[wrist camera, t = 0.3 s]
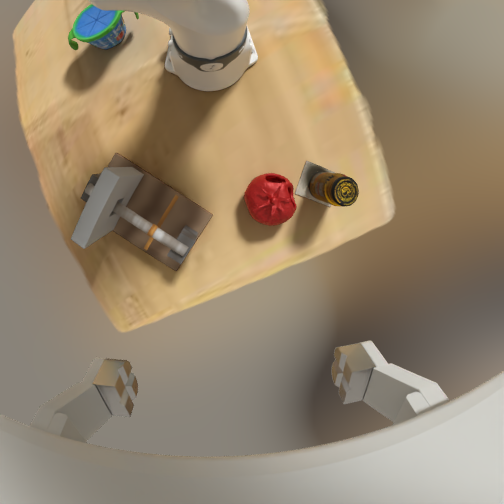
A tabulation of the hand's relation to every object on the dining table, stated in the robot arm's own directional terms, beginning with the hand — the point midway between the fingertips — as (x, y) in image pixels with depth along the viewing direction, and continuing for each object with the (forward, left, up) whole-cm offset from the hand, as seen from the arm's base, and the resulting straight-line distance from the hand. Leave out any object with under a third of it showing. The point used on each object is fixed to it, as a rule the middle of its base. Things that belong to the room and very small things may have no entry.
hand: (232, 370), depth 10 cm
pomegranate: (-1, +10, -48) cm, 48 cm away
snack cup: (-43, -21, -48) cm, 67 cm away
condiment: (-3, +21, -48) cm, 52 cm away
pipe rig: (-1, -15, -47) cm, 50 cm away
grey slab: (-4, -20, -46) cm, 50 cm away
